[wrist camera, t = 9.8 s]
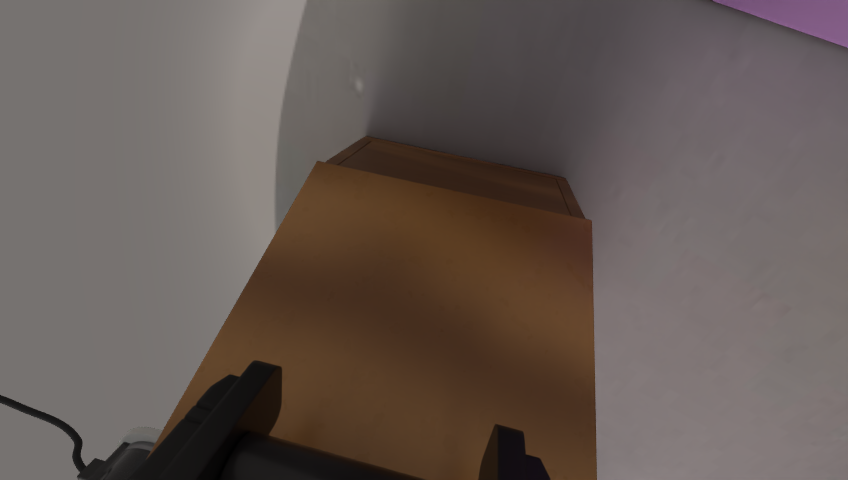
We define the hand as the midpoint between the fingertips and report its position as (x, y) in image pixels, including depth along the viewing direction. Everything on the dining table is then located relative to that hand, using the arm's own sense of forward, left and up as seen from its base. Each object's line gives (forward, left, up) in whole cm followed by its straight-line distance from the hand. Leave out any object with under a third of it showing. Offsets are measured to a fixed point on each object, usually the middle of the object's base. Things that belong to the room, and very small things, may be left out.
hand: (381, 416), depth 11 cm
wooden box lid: (0, -2, -5) cm, 5 cm away
